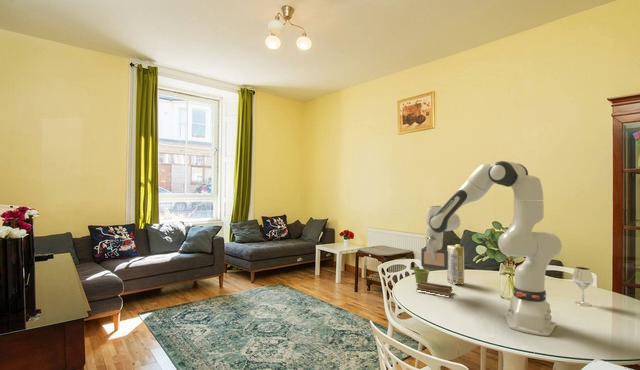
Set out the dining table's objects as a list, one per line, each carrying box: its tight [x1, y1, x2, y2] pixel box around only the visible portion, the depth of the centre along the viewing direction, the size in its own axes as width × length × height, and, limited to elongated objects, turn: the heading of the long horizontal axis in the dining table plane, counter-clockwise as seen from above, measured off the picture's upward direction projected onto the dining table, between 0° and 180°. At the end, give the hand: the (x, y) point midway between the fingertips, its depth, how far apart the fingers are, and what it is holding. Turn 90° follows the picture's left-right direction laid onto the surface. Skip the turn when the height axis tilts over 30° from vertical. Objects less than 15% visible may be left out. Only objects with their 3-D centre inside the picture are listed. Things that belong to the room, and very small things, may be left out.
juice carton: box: [446, 243, 465, 285], centre depth 200 cm, size 9×8×24 cm
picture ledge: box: [416, 281, 453, 297], centre depth 181 cm, size 10×17×4 cm, turn 56°
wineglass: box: [572, 266, 594, 307], centre depth 164 cm, size 8×8×18 cm
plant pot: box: [413, 268, 430, 284], centre depth 196 cm, size 9×9×9 cm
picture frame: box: [420, 247, 448, 270], centre depth 182 cm, size 3×14×10 cm, turn 56°
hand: (434, 259), depth 182 cm, fingers closed on picture frame, 3 cm apart
